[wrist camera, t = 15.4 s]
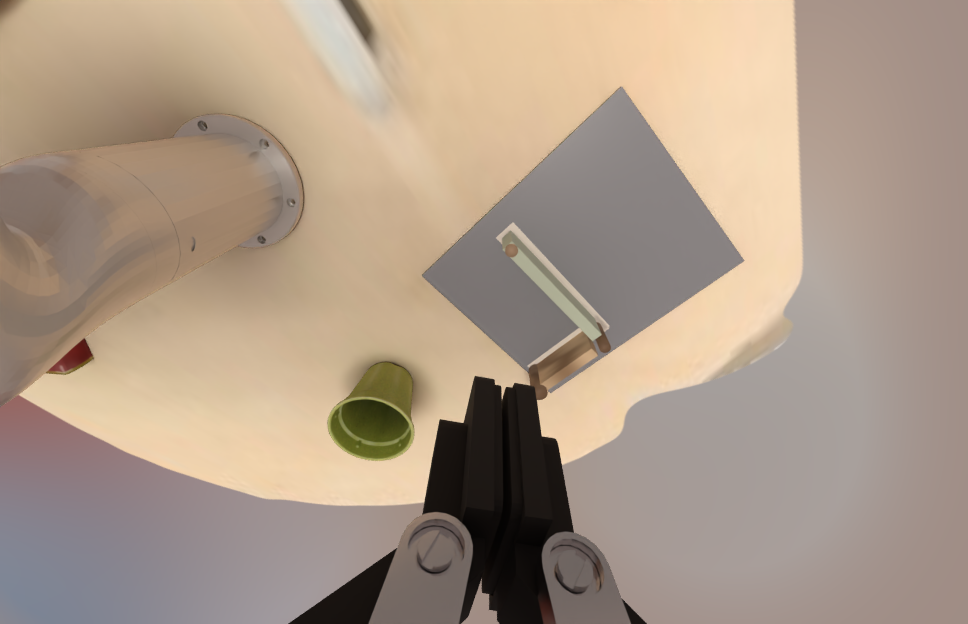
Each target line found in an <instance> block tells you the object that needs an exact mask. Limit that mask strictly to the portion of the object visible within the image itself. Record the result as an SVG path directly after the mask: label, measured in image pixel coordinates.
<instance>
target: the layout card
mask: <svg viewBox="0 0 968 624" xmlns="http://www.w3.org/2000/svg"><path fill="white" fill-rule="evenodd" d="M510 230H511V231H512V232H513V233H514V234H515V235H516V236H517V237H518V238H519V239H520V240H521V241H522V243H523V244H524V245H525V246H526V247H527V248H528V249H529V250H530V251H531V252H532V253H533V254H534V255H535V256H536V257H537V258H538V259H539V260H540V261H541V262H542V264H543V265H544V266H545V267H546V268H547V269H548V270H549V271H550V272H551V273H552V274H553V275H554V276H555V277H556V278H557V279H558V280H559V281H560V282H561V283H562V285H563V286H564V287H565V288H566V289H567V290H568V291H569V292H570V293H571V294H572V295H573V296H574V297H575V298H576V299H577V300H578V301H579V302H580V303H581V305H582V306H583V307H584V308H585V309H586V310H587V311H588V312H589V313H590V314H591V315H592V316H593V317H594V318H595V320H596V322H598V323H600V324H601V326H602V328H603V330H604V332H605V334H606V337H607V339H608V341H609V343H610V345H611V350H610V351H609V352H607V353H602V352H601V351H600V349H599V347H598V344H597V342H596V340H594V341H593V343H594V346H595V348H596V351H597V353H598V356H597V357H595V358H594V359H592V360H591V361H589V362H588V363H587V364H585V365H584V366H582V367H581V368H579V369H578V370H576V371H575V372H573V373H572V374H571V375H569V376H568V377H566V378H565V379H563V380H562V381H560V382H559V383H558V384H556V385H555V386H553V387H552V388H550V389H549V390H548V391H549V392H550V393H552V392H553V391H554V390H556V389H557V388H559V387H560V386H562V385H563V384H565V383H566V382H568V381H569V380H571V379H572V378H573V377H575V376H576V375H578V374H579V373H581V372H582V371H584V370H585V369H587V368H588V367H590V366H591V365H593V364H594V363H595V362H597V361H598V360H600V359H601V358H603V357H604V356H606V355H607V354H609V353H610V352H612V351H613V350H614V349H616V348H617V347H619V346H620V345H622V344H623V343H625V342H626V341H628V340H629V339H631V338H632V337H634V336H635V335H636V334H638V333H639V332H641V331H642V330H644V329H645V328H647V327H648V326H650V325H651V324H653V323H654V322H655V321H657V320H658V319H660V318H661V317H663V316H664V315H666V314H667V313H669V312H670V311H672V310H673V309H675V308H676V307H677V306H679V305H680V304H682V303H683V302H685V301H686V300H688V299H689V298H691V297H692V296H694V295H695V294H696V293H698V292H699V291H701V290H702V289H704V288H705V287H707V286H708V285H710V284H711V283H713V282H714V281H716V280H717V279H718V278H720V277H721V276H723V275H724V274H726V273H727V272H729V271H730V270H732V269H733V268H735V267H736V266H737V265H739V264H740V263H742V262H743V261H744V260H743V258H742V257H741V255H740V254H739V252H738V251H737V250H736V248H735V247H734V245H733V244H732V243H731V241H730V240H729V238H728V237H727V235H726V234H725V233H724V231H723V230H722V228H721V227H720V225H719V224H718V223H717V221H716V220H715V218H714V217H713V216H712V214H711V213H710V211H709V210H708V208H707V207H706V206H705V204H704V203H703V201H702V200H701V198H700V197H699V196H698V194H697V193H696V191H695V190H694V189H693V187H692V186H691V184H690V183H689V181H688V180H687V179H686V177H685V176H684V174H683V173H682V171H681V170H680V169H679V167H678V166H677V164H676V163H675V161H674V160H673V159H672V157H671V156H670V154H669V153H668V152H667V150H666V149H665V147H664V146H663V144H662V143H661V142H660V140H659V139H658V137H657V136H656V134H655V133H654V132H653V130H652V129H651V127H650V126H649V125H648V123H647V122H646V120H645V119H644V117H643V116H642V115H641V113H640V112H639V110H638V109H637V107H636V106H635V105H634V103H633V102H632V100H631V99H630V98H629V96H628V95H627V93H626V92H625V90H624V89H623V88H622V87H620V88H619V89H618V90H617V91H616V92H615V93H614V94H612V95H611V96H610V97H609V98H608V99H607V100H606V101H605V102H604V103H603V104H602V105H601V106H600V107H599V108H598V109H597V110H596V111H595V112H593V113H592V114H591V115H590V116H589V117H588V118H587V119H586V120H585V121H584V122H583V123H582V124H581V125H580V126H579V127H578V128H577V129H576V130H574V131H573V132H572V133H571V134H570V135H569V136H568V137H567V138H566V139H565V140H564V141H563V142H562V143H561V144H560V145H559V146H558V147H557V148H556V149H554V150H553V151H552V152H551V153H550V154H549V155H548V156H547V157H546V158H545V159H544V160H543V161H542V162H541V163H540V164H539V165H538V166H537V167H535V168H534V169H533V170H532V171H531V172H530V173H529V174H528V175H527V176H526V177H525V178H524V179H523V180H522V181H521V182H520V183H519V184H518V185H516V186H515V187H514V188H513V189H512V190H511V191H510V192H509V193H508V194H507V195H506V196H505V197H504V198H503V199H502V200H501V201H500V202H499V203H498V204H496V205H495V206H494V207H493V208H492V209H491V210H490V211H489V212H488V213H487V214H486V215H485V216H484V217H483V218H482V219H481V220H480V221H479V222H477V223H476V224H475V225H474V226H473V227H472V228H471V229H470V230H469V231H468V232H467V233H466V234H465V235H464V236H463V237H462V238H461V239H460V240H458V241H457V242H456V243H455V244H454V245H453V246H452V247H451V248H450V249H449V250H448V251H447V252H446V253H445V254H444V255H443V256H442V257H441V258H439V259H438V260H437V261H436V262H435V263H434V264H433V265H432V266H431V267H430V268H429V269H428V270H427V271H426V272H425V273H424V274H423V275H422V277H424V278H425V279H426V280H427V281H428V282H429V283H430V284H431V285H432V286H433V287H435V288H436V289H437V290H438V291H439V292H440V293H441V294H442V295H443V296H444V297H446V298H447V299H448V300H449V301H450V302H451V303H452V304H453V305H454V306H455V307H457V308H458V309H459V310H460V311H461V312H462V313H463V314H464V315H465V316H466V317H467V318H469V319H470V320H471V321H472V322H473V323H474V324H475V325H476V326H477V327H478V328H480V329H481V330H482V331H483V332H484V333H485V334H486V335H487V336H488V337H489V338H491V339H492V340H493V341H494V342H495V343H496V344H497V345H498V346H499V347H500V348H502V349H503V350H504V351H505V352H506V353H507V354H508V355H509V356H510V357H511V358H513V359H514V360H515V361H516V362H517V363H518V364H519V365H520V366H521V367H522V368H523V369H525V370H526V371H527V372H528V373H529V367H530V366H531V365H533V364H538V363H539V362H540V361H542V360H543V359H545V358H546V357H547V356H549V355H550V354H551V353H553V352H554V351H556V350H557V349H558V348H560V347H561V346H563V345H564V344H565V343H567V342H568V341H569V340H571V339H572V338H574V337H575V336H576V335H578V334H579V333H580V332H582V330H581V329H580V328H579V327H578V326H577V325H576V324H575V323H574V322H573V321H572V320H571V319H570V318H569V317H568V316H567V315H566V314H565V313H564V312H563V311H562V310H561V309H560V308H559V307H558V306H557V305H556V304H555V303H554V302H553V301H552V300H551V299H550V298H549V297H548V296H547V294H546V293H545V292H544V291H543V290H542V289H541V288H540V287H539V286H538V285H537V284H536V283H535V282H534V281H533V280H532V279H531V278H530V277H529V276H528V275H527V274H526V273H525V272H524V271H523V270H522V269H521V268H520V267H519V266H518V265H517V264H516V263H515V262H514V261H513V260H512V259H511V258H510V257H508V256H507V255H506V253H505V252H504V251H503V250H502V238H503V237H504V236H505V235H506V234H507V233H508V232H509V231H510Z"/></svg>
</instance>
